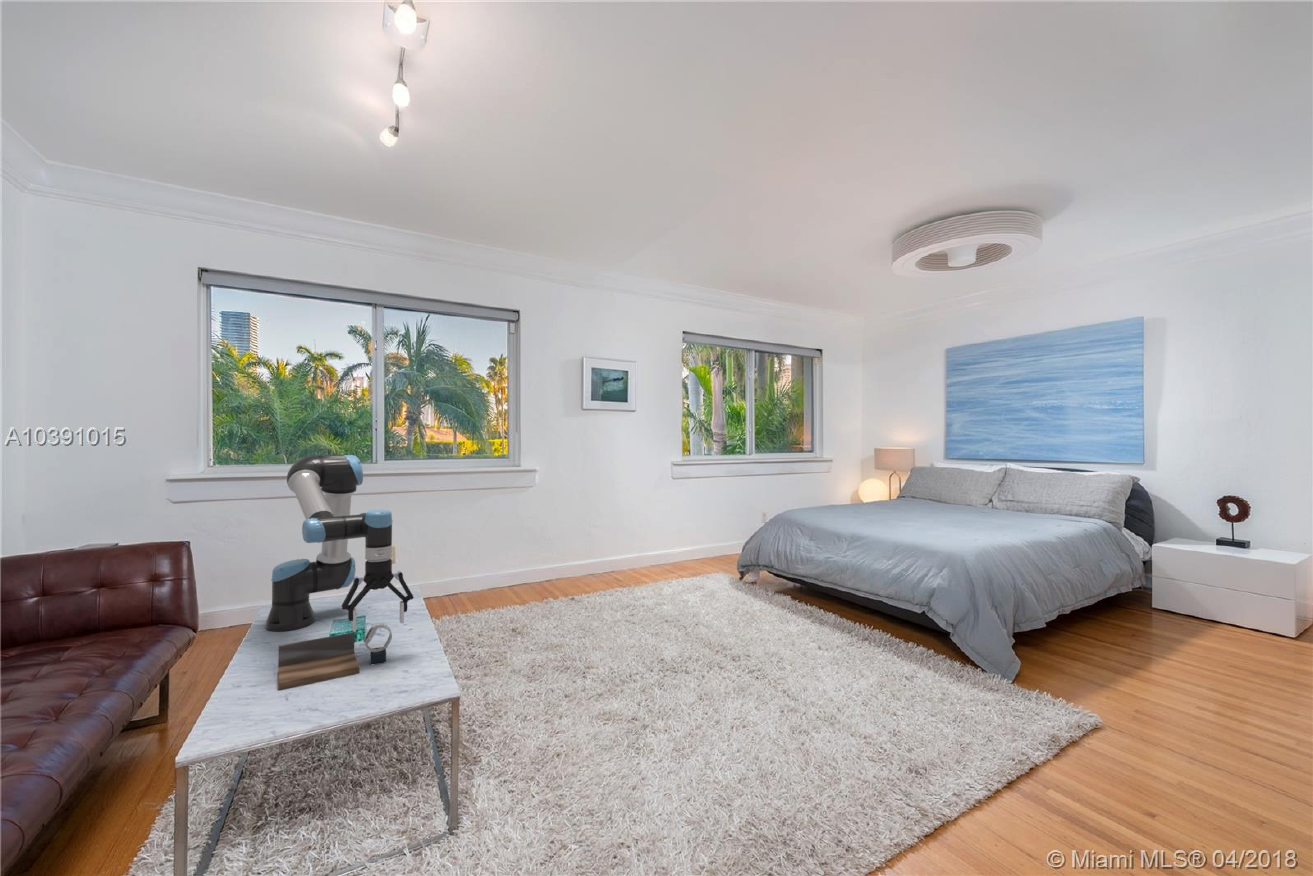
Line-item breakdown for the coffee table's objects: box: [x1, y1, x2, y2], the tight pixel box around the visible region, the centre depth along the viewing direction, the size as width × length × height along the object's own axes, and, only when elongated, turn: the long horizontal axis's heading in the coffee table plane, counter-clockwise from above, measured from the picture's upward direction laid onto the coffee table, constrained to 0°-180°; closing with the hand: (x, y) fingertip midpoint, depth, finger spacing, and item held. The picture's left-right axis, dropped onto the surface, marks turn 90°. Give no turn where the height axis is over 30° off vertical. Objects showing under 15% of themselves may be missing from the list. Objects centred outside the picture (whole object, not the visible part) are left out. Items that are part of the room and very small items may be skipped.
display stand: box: [277, 632, 360, 691], centre depth 165 cm, size 14×20×8 cm
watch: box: [363, 624, 393, 665], centre depth 174 cm, size 6×8×11 cm
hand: (378, 626), depth 174 cm, fingers open, 13 cm apart
